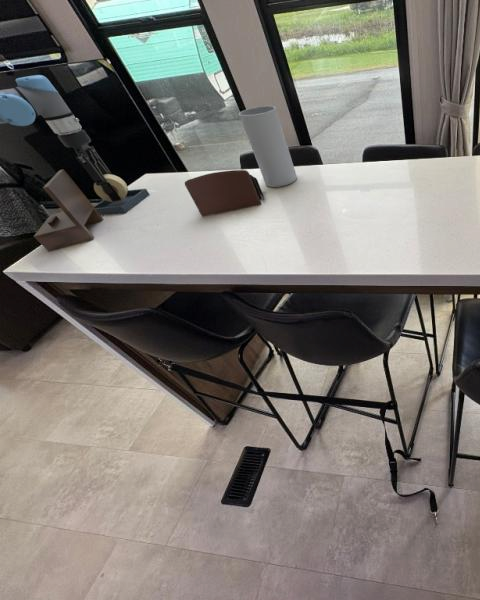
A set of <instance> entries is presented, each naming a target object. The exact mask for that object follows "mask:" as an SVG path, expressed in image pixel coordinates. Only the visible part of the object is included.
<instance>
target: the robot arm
mask: <svg viewBox="0 0 480 600" xmlns="http://www.w3.org/2000/svg"><path fill="white" fill-rule="evenodd" d="M15 82H16V84H17V86H16V87H12V88H6V89H0V125H2V124H3V125H4V124H10V125H12V126H18V127H26V126H31V124H33V123H34V122H35V120H36V117H37V116H41V117H43V119H44V121H45V122H46V123H47V125H48V126H49V128H50V129H51V130H52V132H53V133H54V134H56V135H57V138H58V139H59V141H60V142H61V143H62V145H64V147H66V148H73V149H74V151H75V154H76V156H75V159H76V160H77V161H78V163H79V164H80V165H81V166H82V167H83V169H84V170H85V171H86V172H87V174H88V175H89V177H90V178H91V179H92V180H93V181H94V184H95V183H96V185H97V186H99V185H101V187H102V188H103V189H104V191H105V192H106V193H107V195H108V196H109V197H110V199H111V200H112V201H118V200H121V198H120V197H119V195H118V194H117V192H116V191H115V190H114V188H113V187H112V186H111V184H110V183H109V182H107V180H106V179H105V177H104V176H103V175H105V174H111V175H114V173H112V172H111V171H110V169H109V167H108V166H107V165H106V164H105V162H104V160H103V159H102V158H101V156H100V154H98V152H97V150H96V149H95V147H94V146H93V145H91V146H90V145H89V143H91V142H92V139H91V138H90V136H89V135H88V134H87V131H86V130H84V129H82V125H81V124H80V119H79V118H78V117H75V115H74V113H73V112H72V111H71V109H70V108H69V106H68V105H67V103H66V102H65V100H64V99H63V98H62V96H61V95H60V93H59V91H58V90H57V89H56V87H54V85H53V84H52V83H51V81H50V80H49V78H47V77H46V76H45V75H42V74H35V75H28V76H27V75H26V76H23V77H18V78H16V79H15Z"/></svg>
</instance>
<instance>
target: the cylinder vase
mask: <svg viewBox="0 0 480 600" xmlns="http://www.w3.org/2000/svg"><path fill="white" fill-rule="evenodd" d="M238 116H239V118H240V121H241V124H242V127H243V129H244V131H245V134H246V136H247V140H248V142H249V144H250V147H251V150H252V152H253V155H254V158H255V160H256V163H257V166H258V168H259V171H260V174H261V176H262V179H263V181H264V184H265V185H266V186H268V187H269V188H280V187H286V186H289V185H291V184H293V183H295V181H296V180H297V177H298V176H297V172H296V169H295V166H294V163H293V159H292V156H291V153H290V150H289V147H288V143H287V140H286V137H285V134H284V129H283V126H282V124H281V121H280V117H279V114H278V111H277V107H276V106H274V105H264V106H263V105H262V106H256V107H251V108H248V109H244V110H242V111H240V112H239V113H238Z"/></svg>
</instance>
